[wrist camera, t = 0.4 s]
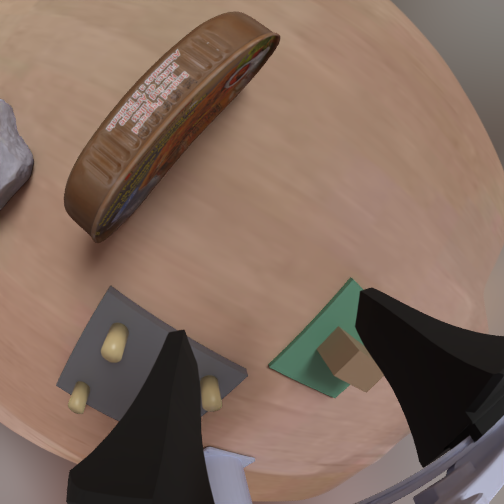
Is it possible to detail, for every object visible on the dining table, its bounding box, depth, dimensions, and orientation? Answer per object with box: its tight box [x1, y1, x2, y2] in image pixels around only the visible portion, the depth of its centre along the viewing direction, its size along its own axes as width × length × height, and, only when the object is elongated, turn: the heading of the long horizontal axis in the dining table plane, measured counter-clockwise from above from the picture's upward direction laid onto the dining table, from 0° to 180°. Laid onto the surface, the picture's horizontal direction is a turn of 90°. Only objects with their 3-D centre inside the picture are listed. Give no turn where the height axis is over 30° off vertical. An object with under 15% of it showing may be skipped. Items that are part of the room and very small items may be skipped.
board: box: [268, 277, 384, 398], centre depth 24 cm, size 11×11×5 cm
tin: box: [64, 12, 280, 243], centre depth 13 cm, size 15×3×8 cm, turn 138°
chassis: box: [56, 286, 248, 421], centre depth 20 cm, size 14×14×4 cm
